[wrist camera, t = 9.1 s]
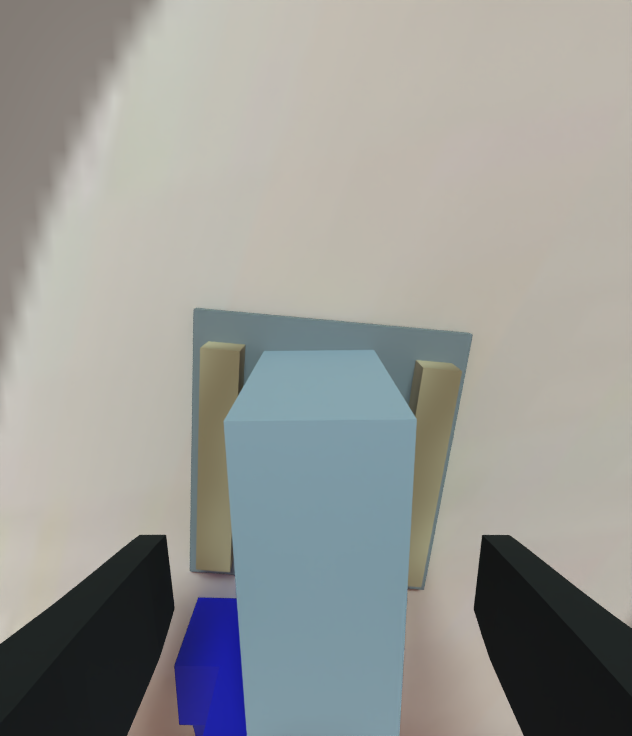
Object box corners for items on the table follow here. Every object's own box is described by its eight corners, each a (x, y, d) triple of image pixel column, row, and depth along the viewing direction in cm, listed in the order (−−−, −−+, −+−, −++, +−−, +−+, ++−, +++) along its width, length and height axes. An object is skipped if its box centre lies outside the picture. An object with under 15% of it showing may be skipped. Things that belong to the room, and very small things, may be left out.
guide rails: (452, 363, 14) (462, 371, 13) (414, 566, 16) (421, 587, 15) (208, 341, 13) (199, 347, 12) (203, 549, 15) (195, 569, 15)
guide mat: (469, 332, 14) (472, 334, 13) (422, 583, 16) (423, 589, 16) (196, 308, 13) (193, 308, 13) (192, 565, 16) (189, 571, 16)
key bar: (368, 557, 16) (399, 736, 10) (273, 558, 16) (246, 736, 10) (373, 349, 13) (416, 419, 8) (264, 350, 14) (223, 421, 8)
